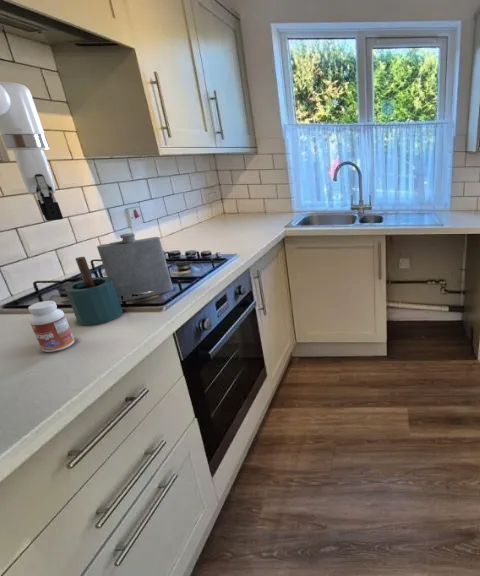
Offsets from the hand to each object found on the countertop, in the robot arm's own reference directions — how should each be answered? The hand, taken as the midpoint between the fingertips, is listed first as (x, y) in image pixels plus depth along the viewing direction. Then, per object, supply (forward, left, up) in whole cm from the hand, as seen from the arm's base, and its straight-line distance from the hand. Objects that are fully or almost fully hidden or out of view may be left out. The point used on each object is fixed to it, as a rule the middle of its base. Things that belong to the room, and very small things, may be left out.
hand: (53, 217), depth 90 cm
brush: (+2, -1, -28) cm, 28 cm away
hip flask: (+15, +7, -29) cm, 33 cm away
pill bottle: (-8, -13, -29) cm, 32 cm away
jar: (+2, -1, -28) cm, 28 cm away
